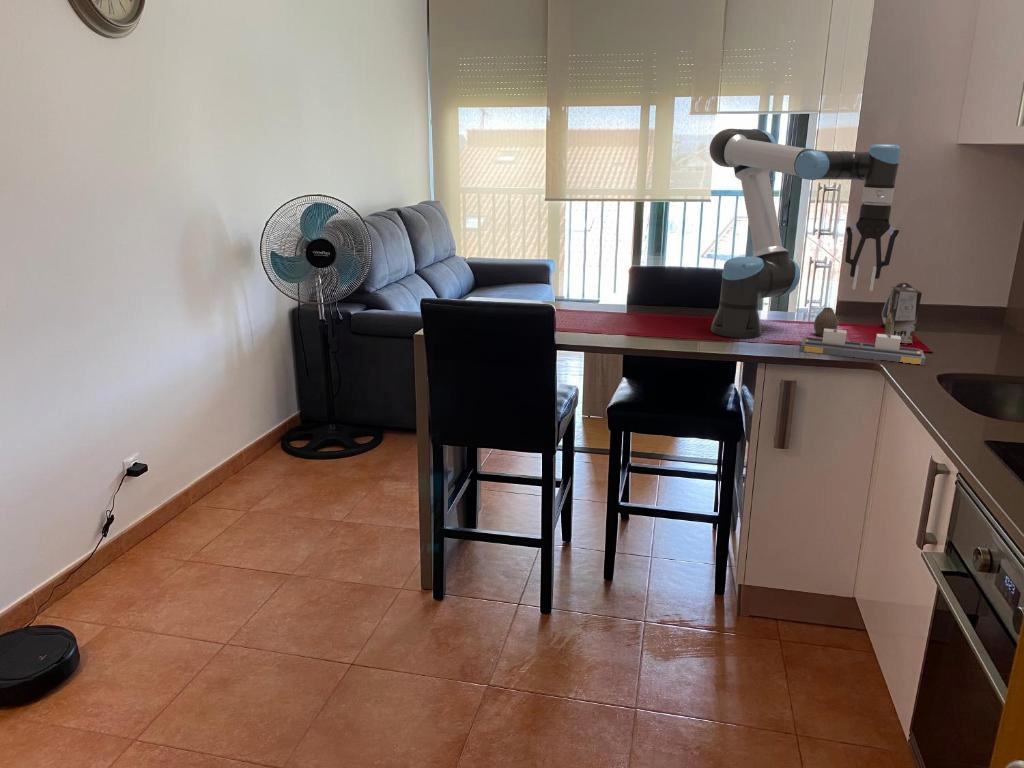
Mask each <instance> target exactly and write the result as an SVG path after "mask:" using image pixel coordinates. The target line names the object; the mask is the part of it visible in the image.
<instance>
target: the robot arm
mask: <svg viewBox="0 0 1024 768" xmlns="http://www.w3.org/2000/svg"><path fill="white" fill-rule="evenodd" d="M709 156H710V158H711V159H712V161H713V162H714V163H715V164H716V165H718V166H720V167H725V168H733V172H734V175H735V176H734V177H735V178H736V179H738V180H740V183H741V186H742V187H741V189H742V192H743V199H744V205H745V210H746V216H747V220H748V226H749V232H750V237H751V242H752V248H753V255H751V256H736V257H732V258H729V259H727V260H725V263H724V264H723V270H722V272H721V286H720V294H719V295H720V296H719V297H720V298H719V305H718V306H719V307H718V309H717V312H716V314H715V316H714V318H713V320H712V323H711V327H710V331H711V333H713V334H714V335H719V336H722V337H725V338H726V337H728V338H734V339H735V338H736V339H751V338H757V337H760V336H761V333H762V326H761V320H760V316H759V309H758V308H759V303H760V299H765V298H779V297H782V296H787V295H789V294H791V293H793V291H795V289H796V287H797V286H798V285H799V283H800V279H801V269H800V266H799V264H798V263H797V262H796V261H795V260H794V259H791V257H790V253H789V250H788V249H786V248H785V247H783V244H782V239H781V233H780V228H779V222H778V216H777V212H776V207H775V201H774V194H773V190H772V189H773V188H772V184H771V178H770V172H775V173H781V174H785V175H791V176H797V177H799V178H800V179H803V180H807V181H816V180H818V181H819V180H820V181H821V180H835V181H836V180H838V181H839V180H842V181H844V180H849V181H864V183H863V184H864V185H863V186H864V187H863V189H862V190H863V191H862V196H861V202H862V204H861V205H860V210H859V217H858V220H857V222H855V223H856V224H853V225H850V226H849V225H848V226H846V227H845V231H846V234H847V238H846V240H847V241H846V248H845V249H846V250H845V258H844V259H845V263H847V264H849V265H851V267H850V272H849V276H850V277H851V278H853V281H852V287H851V288H852V290H856V289H857V288H856V287H857V280H858V276H859V275H858V274H859V268H860V265H859V264H858V262H859V260H860V259H859V258H860V256H861V254H862V250H863V248H864V245H865V243H866V241H867V239H869V240H870V239H873V240H875V260H876V261H875V264H876V266H875V265H874V266H872V273H871V278H870V285H869V289H868V290H869V291H870V292H873V291H874V285H875V280H876V279H877V280H878V279H880V276H881V271H882V268H883V267H887V266H889V265H890V262H891V258H892V253H893V249H894V245H895V241H896V237H897V236H898V235H899V233H900V230H899V229H898V228H894V227H892V226H891V224H890V217H891V210H892V205H890V204H892V203H893V199H894V198H893V197H894V193H895V185H896V179H897V174H898V170H899V165H900V162H901V161H900V157H901V147H900V146H899V144H886V143H885V144H881V143H880V144H878V143H877V144H871V145H870V147H869V150H868V151H852V150H851V151H850V150H840V151H838V150H819V149H813V148H806V147H801V146H800V147H799V146H798V147H797V146H795V145H787V144H782V143H781V144H779V143H777V141H776V139H775V137H774V136H773V134H771V133H770V132H768V131H766V130H763V129H758V128H752V129H750V128H749V129H747V128H746V129H745V128H743V129H742V128H726V129H723V130H721V131H719V132H717V133H716V134H715V135H714V136H713V137H712V139H711V142H710V144H709ZM856 229H857V231H858V232H859V234H860V236H861V237H860V239H859V241H858V244H857V247H856V250H855V253H854V256H853V258H851V256H852V246H853V234H855V233H856ZM887 231H888V235H889V239H888V243H887V247H886V252H885V255H884V260H882V241H881V240H882V239H881V237H883V235H885V234H886V232H887Z"/></svg>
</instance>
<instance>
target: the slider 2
mask: <svg viewBox="0 0 1024 768" xmlns="http://www.w3.org/2000/svg"><path fill="white" fill-rule="evenodd" d="M900 343H901V337H900V336H895V335H890V334H887V335H885V334H884V333H876V337H875V342H874V344H875V349H882V350H891V351H899V348H900V347H901V344H900Z"/></svg>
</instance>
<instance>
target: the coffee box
mask: <svg viewBox="0 0 1024 768" xmlns="http://www.w3.org/2000/svg"><path fill="white" fill-rule="evenodd" d="M890 293H891V294H890ZM890 293H889V295H890V299H889V305H888V311H887V317H886V324H884V330H883V334H885V335H887V334H890V335H895V336H900V337H901V342H902V343H912V344H913V341H914V337H915V336H914V335H915V330H916V325H917V320H918V314H919V310H920V305H921V299H922V295H923V292H921V291H919V290H917V288H914V287H913V288H909V287H895V286H891V289H890Z"/></svg>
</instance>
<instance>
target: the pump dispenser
mask: <svg viewBox="0 0 1024 768" xmlns="http://www.w3.org/2000/svg"><path fill="white" fill-rule="evenodd" d="M894 287H909V288H914V287H913V286H912V285H911V284H910V283H908V282H904V281H903V282H899V283H897V284H895V286H894ZM890 294H891V292H890V293H889V294H888V296H887V299H886V301H885V303H884V306H883V308H882V311H881V317H882V322H883V324H884V325H885V324H886V317H887V311H888V305H889V299H890Z"/></svg>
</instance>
